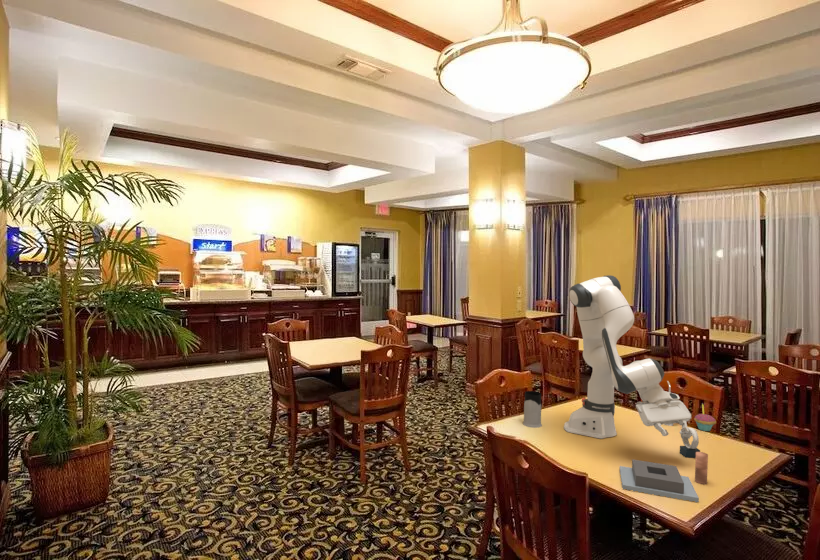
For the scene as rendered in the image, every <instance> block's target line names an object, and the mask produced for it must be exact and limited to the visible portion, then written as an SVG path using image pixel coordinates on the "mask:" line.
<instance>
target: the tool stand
mask: <svg viewBox="0 0 820 560" xmlns="http://www.w3.org/2000/svg"><path fill="white" fill-rule="evenodd" d="M620 475H621V476H620ZM619 476H620V481H621V482H622V483H621V488H623V489H622V490H624V489H627V490H626V491H629V490H633V491H632V492H635V491H638V492H637V493H641V492H644V493H643V494H646V493H648V495H652V494H654V495H653V496H658V495H660V496H659V497H663V496H666V497H665V498H669V497H671V499H675V498H677V499H676V500H680V499H683V500H682V501H686V500H689V501H688V502H692V501H695V502H694V503H697V502H699V501H700V497H699V496H698V493H697V491H696V490H695V487H694V485H693V483H692V481H691V479H690V477H689V476H685V475H681V473H680V471H679V469H678V467H677V465H676V466H675V465H671V464H663V463H658V462H652V461H645V460H640V459H639V460H638V459H631V467H629V466H624V465H619Z"/></svg>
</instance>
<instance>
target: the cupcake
mask: <svg viewBox="0 0 820 560" xmlns="http://www.w3.org/2000/svg"><path fill="white" fill-rule="evenodd" d="M701 410H702V411H701V412H702V413H698V414H696V415H695V416H694V419H693V421H695V423H696V426H697V428H698V430H700V431H704V432H710V431H711V430H712V427H713V426H714V425H716V424H717V421H716V419H715V417H713V416H712V415H711V414H710V415H709V414H706V413H705V406H704V403H703V402H702V403H701Z"/></svg>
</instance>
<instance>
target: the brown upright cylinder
mask: <svg viewBox="0 0 820 560" xmlns="http://www.w3.org/2000/svg"><path fill="white" fill-rule="evenodd" d="M708 463H709V454H708V453H706V452H703V451H700V452H696V458H695V464H694V465H695V468H694V470H695V471H694V482H695V483H696V484H700V485H707V484H708V471H709V469H708V467H709V466H708V465H709V464H708Z"/></svg>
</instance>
